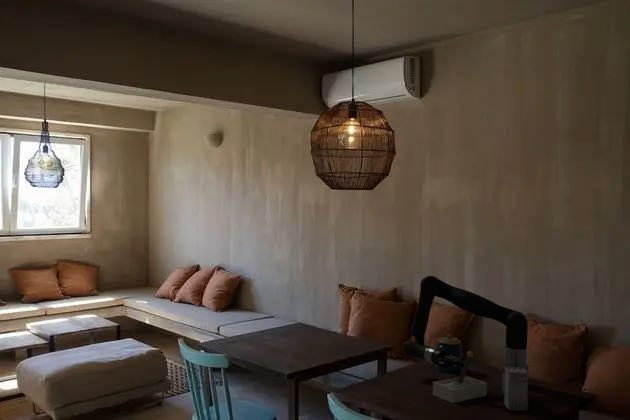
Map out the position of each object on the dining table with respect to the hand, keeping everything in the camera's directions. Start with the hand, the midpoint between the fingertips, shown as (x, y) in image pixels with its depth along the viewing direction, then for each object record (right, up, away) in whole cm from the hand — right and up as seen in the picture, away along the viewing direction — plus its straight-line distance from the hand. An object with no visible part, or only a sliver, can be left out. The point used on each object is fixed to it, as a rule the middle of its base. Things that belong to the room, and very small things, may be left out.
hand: (464, 365), depth 245 cm
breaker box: (-2, -13, +2) cm, 14 cm away
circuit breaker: (+18, -14, -8) cm, 24 cm away
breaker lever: (-1, -8, +2) cm, 8 cm away
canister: (+3, -13, +41) cm, 44 cm away
